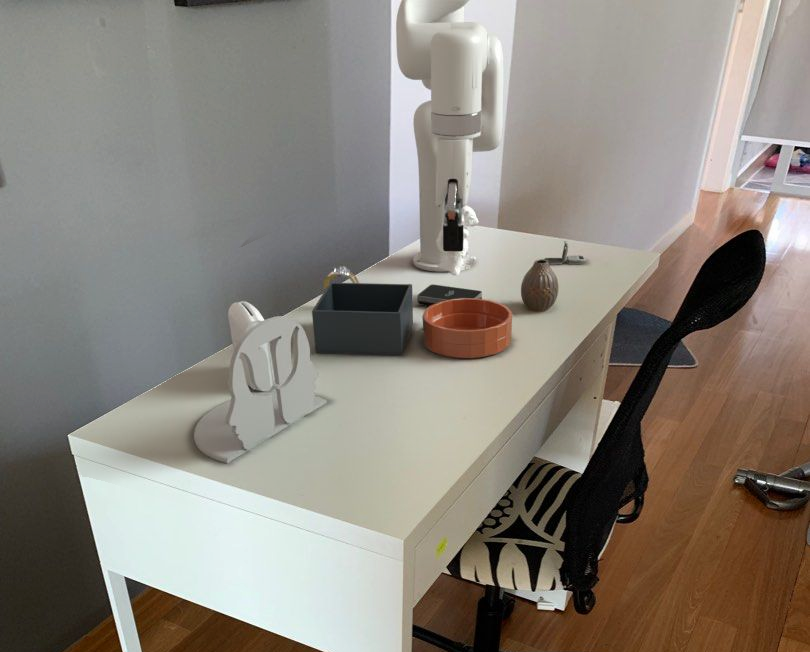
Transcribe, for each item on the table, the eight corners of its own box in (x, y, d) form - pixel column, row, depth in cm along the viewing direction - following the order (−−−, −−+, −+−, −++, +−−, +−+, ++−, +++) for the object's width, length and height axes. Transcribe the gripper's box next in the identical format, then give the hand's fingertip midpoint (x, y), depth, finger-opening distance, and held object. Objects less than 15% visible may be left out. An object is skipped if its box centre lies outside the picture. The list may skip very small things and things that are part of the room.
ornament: (227, 464, 117) (207, 350, 107) (162, 439, 124) (137, 328, 114) (329, 402, 132) (319, 296, 122) (265, 382, 138) (252, 280, 128)
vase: (556, 301, 164) (559, 255, 158) (557, 314, 158) (561, 267, 153) (519, 301, 164) (522, 255, 159) (520, 314, 159) (522, 267, 154)
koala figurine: (465, 280, 138) (465, 203, 130) (426, 275, 140) (425, 199, 133) (482, 262, 144) (484, 188, 136) (445, 257, 146) (444, 184, 139)
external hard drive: (469, 313, 160) (469, 303, 159) (415, 305, 164) (415, 295, 163) (482, 301, 165) (483, 291, 164) (430, 293, 169) (430, 284, 168)
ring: (363, 307, 164) (360, 266, 159) (356, 313, 161) (353, 271, 157) (330, 303, 166) (327, 262, 161) (323, 309, 164) (319, 267, 159)
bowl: (429, 323, 156) (428, 297, 153) (512, 326, 154) (513, 299, 151) (418, 358, 144) (417, 329, 141) (508, 361, 142) (509, 332, 139)
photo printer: (233, 370, 142) (222, 297, 135) (258, 364, 144) (248, 292, 136) (252, 394, 135) (241, 318, 127) (278, 388, 136) (269, 313, 129)
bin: (333, 322, 158) (329, 282, 154) (413, 324, 156) (412, 284, 152) (315, 353, 147) (311, 310, 143) (401, 356, 145) (400, 313, 141)
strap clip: (584, 259, 183) (585, 239, 181) (585, 264, 181) (587, 244, 178) (544, 260, 184) (545, 240, 181) (545, 264, 181) (546, 244, 179)
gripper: (437, 113, 137) (437, 227, 147) (424, 136, 123) (426, 260, 133) (484, 112, 136) (481, 227, 146) (476, 136, 122) (474, 261, 133)
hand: (455, 242), depth 140 cm, fingers closed on koala figurine, 6 cm apart
